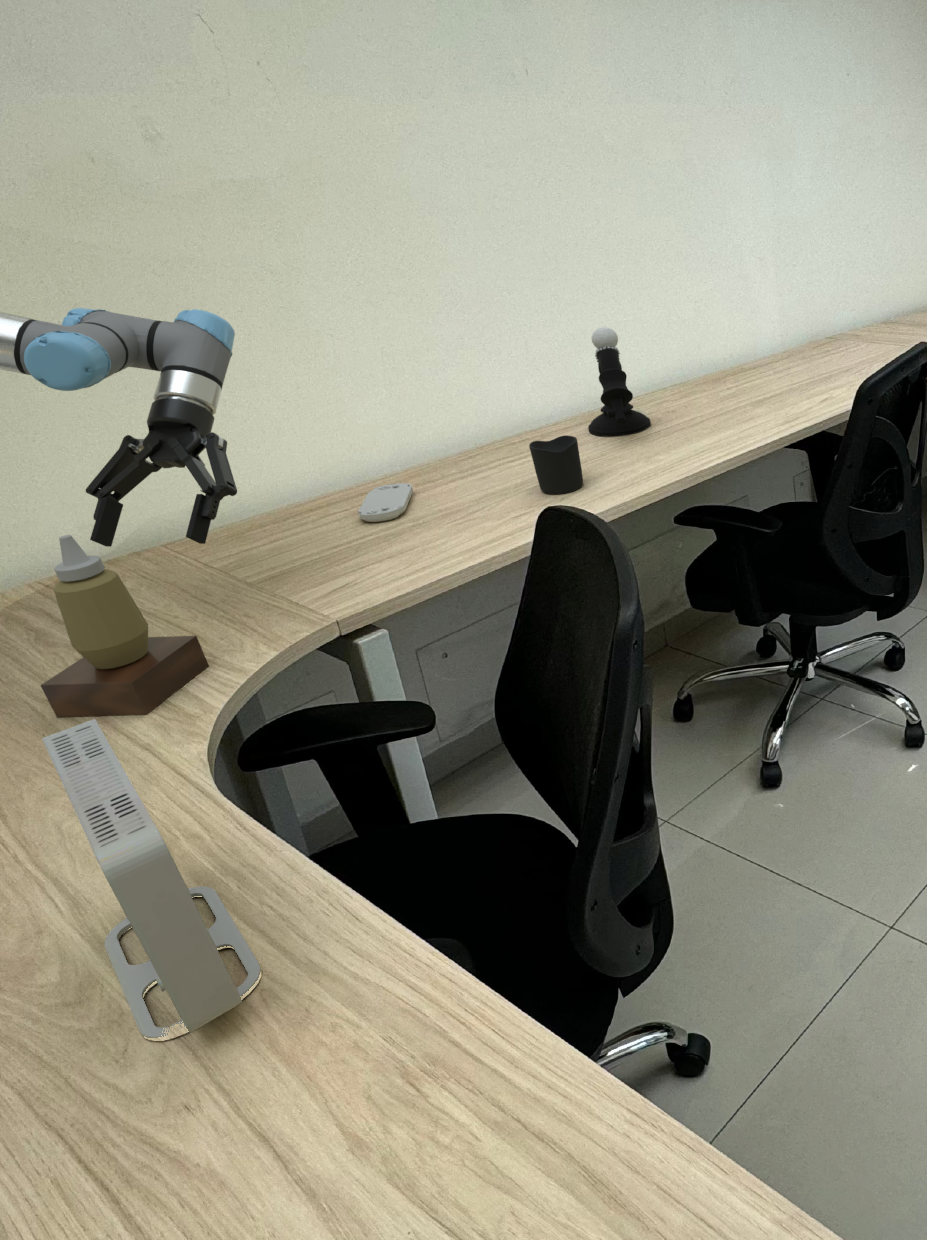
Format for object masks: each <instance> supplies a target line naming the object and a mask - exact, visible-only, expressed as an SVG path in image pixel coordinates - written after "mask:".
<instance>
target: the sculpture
mask: <svg viewBox="0 0 927 1240" xmlns="http://www.w3.org/2000/svg"><path fill="white" fill-rule="evenodd" d="M618 342H619V337H618V334H617V332H616V331H615V330H614V329H613V328H610V327H607V326H601V327H598V328H596V329H595V330H594V331H593V332H592V334H591V343H592V344H593V347H595V348H596V349H595V353H594V357H595V359H596V362H597V367H598V373H599V376H598V382H599V383H600V385H601V387H602V393H601V396H600V402H601V404H603V406H602V407H601V408H600V412H601V413H600V414H598V415H597V416H596V417H595V418H593V420H591V422H590V423H589V424H588V427H587V428H588V433H589V434H590V435H592V436H596V437H621V436H629V435H633V434H636V433H640V432H643V431H645V430H648V428H650V427H651V426H652V423H651V419H650V417H648V416H646V415H645V414H644V413H642V412H640V411H637V410H635V409H633V408H634V405H632V404H631V401H632V400H633V398H634V395H633V393H632V391H631V390H630V389H628V386H627V378H628V377H627V374H626V371H624V370H623V367H622V364H621V361H620V360H621V359H620V355H621V353H620V350H619V349H618V347H617V345H618Z"/></svg>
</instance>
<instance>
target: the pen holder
mask: <svg viewBox="0 0 927 1240" xmlns="http://www.w3.org/2000/svg"><path fill="white" fill-rule="evenodd" d="M528 447H529V451H530V454H531V459H532V463H533V467H534V470H535V474H536V478H537V481H538V486H539V489H540V491H541V492H542V493H544V494H547V495H563V494H568V493H569V494H570V493H573V492H575V491H578V490H579V489H581V488H582V487H583V485H584V477H583V470H582V469H583V468H582V462H581V456H580V450H579V443H578V438H577V437H576V436H573V435H559V436H557V437H555V438H553V439H550V440H533V441H531V442H530V443H529V445H528Z"/></svg>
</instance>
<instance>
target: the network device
mask: <svg viewBox="0 0 927 1240" xmlns="http://www.w3.org/2000/svg"><path fill="white" fill-rule="evenodd" d="M102 730H103V729H102V728H101V727H100V725H99V724H98V722H97V720H96V719H95V718H93V719H90V720H88V721H84V722H83V723H80V724H77V725H74V726H72V727H68V728H65V729H62V730H59V731H57V732H55V733H52V734H50V735H49V734H48V735H46V736H44V737H41V738H42V742H43V744H44V746H45V749H46V751H47V753H48V755H49V758H50V760H51V762H52V764H53V766H54V769H55V770H56V772H57V775H58V777H59V780H60V782H61V784H62V786H63V788H64V791H65V792H66V794H67V797H68V799H69V801H70V804H71V806H72V808H73V811H74V812H75V815H76V817H77V819H78V821H79V824H80V825H81V828H82V830H83V832H84V835H85V837H86V840H87V841H88V844H89V845H90V848H91V850H92V852H93V854H94V857H95V859H96V861H97V863H98V865H99V867H100V870H101V871H102V873H103V875H104V877H105V879H106V881H107V883H108V885H109V886H110V889H111V890H112V892H113V894H114V896H115V898H116V901H118V903H119V906H120V908H121V909H122V911H123V913H124V914H125V918H124V919H123V920H121V921H120V922H119V923H117V924H116V925H115V926H114V927H113V928H111V930H110V931H109V933H108V934H107V935H106V937H105V940H104V942H103V943H104V944H103V945H104V949H105V951H106V954H107V956H108V958H109V961H110V963H111V965H112V969H113V971H114V973H115V975H116V978H117V980H118V983H119V986H120V988H121V990H122V992H123V995H124V996H125V1000H126V1002H127V1004H128V1007H129V1009H130V1013H131V1014H132V1017H133V1019H134V1021H135V1024H136V1027H137V1028H138V1031H139V1033H140V1032H141V1033H140V1034H141V1036H142V1035H143V1036H145V1037H147V1038H158V1037H162V1036H163V1037H164V1034H165V1036H166V1033H164V1032H165V1028H166V1029H167V1028H168V1026H169V1025H167V1026H156V1024H155V1022H153V1021H154V1019H153V1017H152V1015H150V1014H151V1012H150V1010H149V1008H148V1005H147V1003H146V1001H144V1000H145V998H144V999H143V994H144V992H145V991H146V989H147V988H148V986H150V985H151V984H152V983H153V982H155V981H157V983H158V984H157V985H158V986H159V988H160V990H161V992H162V993H164V992H165V991H166V993H167V995H168V997H169V998H170V1000H171V1002H172V1004H173V1006H174V1008H175V1010H176V1011H177V1013H178V1015H179V1018H180V1020H178V1021H179V1022H180V1024H182V1023H184V1027H185V1026H186V1028H187V1029H188V1031H189V1033H188V1034H191V1033H192V1032H194V1031H196V1030H198V1029H199V1028H201V1027H203V1026H204V1025H206V1024H208V1023H210V1022H212V1021H214V1020H215V1019H216V1018H218V1017H220V1016H222V1015H223V1014H226V1013H227V1012H229V1011H231V1010H232V1009H234V1008H236V1007H237V1006H239V1005H241V1004H242V1003H243V1001H242V1000H241V997H240V996H243V994H245V993H246V992H247V991H249V989H250V988H251V987H252V986H253V985H254V984H255V982H256V981H257V980H258V978H259V975H260V972H261V970H262V967H261V965H260V963H259V961H258V959H257V958H256V955H255V954H254V952H253V950H252V949H251V948H250V946H249V944H248V943H247V941H246V940H245V938H244V936H243V934H242V933H241V931H240V929H239V928H238V926H237V923H236V922H235V921H234V919H233V918H232V916H231V914H230V913H229V911H228V909H227V907H226V906H225V904H224V903H223V901H222V899H221V897H220V896H219V894H218V892H217V891H216V890H215V889H214V888H212V887H210V886H194V887H193V886H192V887H189V888H188V886H187V884H186V882H185V880H184V878H183V876H182V874H181V872H180V870H179V868H178V865H177V864H176V861H175V860H174V858H173V856H172V854H171V851H170V849H169V848H168V846H167V844H166V842H165V840H164V838H163V836H162V834H161V832H160V831H159V829H158V827H157V825H156V824H155V821H154V820H153V818H152V817H151V815H150V813H149V811H148V809H147V808H146V806H145V804H144V803H143V801H142V799H141V797H140V795H139V794H138V792H137V790H136V788H135V787H134V784H133V783H132V781H131V780H130V778H129V776H128V774H127V773H126V770H125V769H124V767H123V766H122V763H121V762H120V760H119V758H118V756H117V755H116V753H115V751H114V750H113V748H112V746H111V744H110V743H109V741H108V739H107V737H106V735H105V734H104V732H103V731H102ZM194 896H202V897H203V898H202V899H204V900H205V902H206V904H207V903H208V904H207V905H208V907H209V909H210V910H212V911H211V913H212V914H213V916H214V915H215V916H214V917H216V918H215V921H214V923H213V924H212V925H211V926H210V927H209V928H208V926H207V925H206V923H205V921H204V918H203V917H202V915H201V913H200V911H199V908H198V907H197V905H196V903H195V901H194V899H192V897H194ZM131 927H132V930H133V931H134V934H135V936H136V937H137V939H138V941H139V942H140V944H141V947H142V948H143V950H144V952H145V954H146V956H147V958H148V960H147V961H145V962H143V963H139V964H129V962H127V961H128V959H127V957H126V955H124V954H125V952H124V950H123V948H122V946H120V945H121V943H120V941H119V938H120V937H121V935H122V934H123V933H124V932H126V931H127V930H128V929H129V928H131ZM127 932H128V931H127ZM127 932H126V933H127ZM123 935H124V934H123ZM121 938H122V937H121ZM121 938H120V939H121ZM224 946H226V947H227V946H231V947H233V948H234V950H235V951H234V950H233V951H234V952H235V954H236V953H237V954H236V955H238V956H237V957H238V959H239V961H240V960H241V961H240V963H241V964H242V966H243V965H244V966H243V968H244V967H245V968H244V969H245V971H246V973H247V972H248V973H247V976H246V978H245V980H244V981H243V982H242V983H241V984H240V985H238V986H236V985H235V983H234V981H233V978H232V976H231V975H230V972H229V971H228V968H227V966H226V963H225V962H224V960H223V957H222V956H221V954H220V951H218V950H217V948H220V947H224ZM123 952H124V953H123ZM126 959H127V960H126ZM260 967H261V968H260ZM145 1003H146V1004H145ZM146 1005H147V1006H146ZM148 1010H149V1011H148ZM149 1012H150V1013H149ZM151 1017H152V1018H151ZM152 1019H153V1020H152ZM178 1021H176V1022H174V1023H173V1024H171V1025H173V1026H174V1025H175V1023H176V1024H179V1023H177V1022H178ZM182 1021H183V1022H182ZM181 1022H182V1023H181ZM154 1024H155V1025H154ZM180 1027H181V1025H180ZM163 1028H164V1030H163ZM171 1028H172V1027H171ZM181 1028H182V1027H181ZM169 1029H170V1027H169ZM162 1031H163V1033H162ZM166 1032H167V1030H166ZM168 1032H169V1030H168ZM161 1035H162V1036H161ZM167 1035H168V1033H167ZM143 1036H142V1037H143Z"/></svg>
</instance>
